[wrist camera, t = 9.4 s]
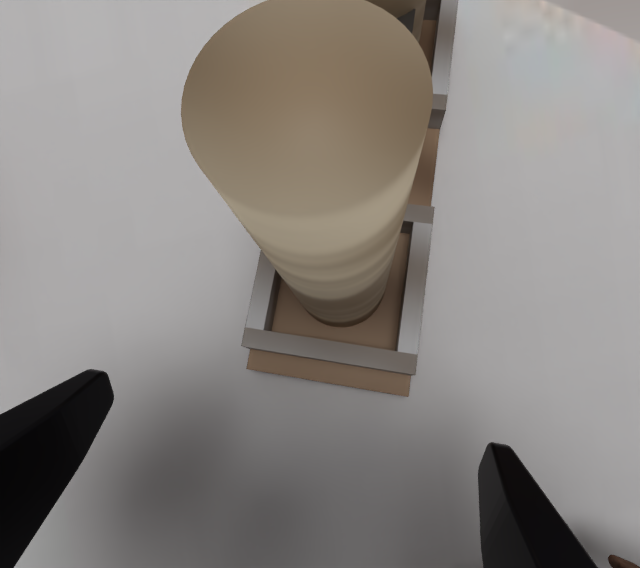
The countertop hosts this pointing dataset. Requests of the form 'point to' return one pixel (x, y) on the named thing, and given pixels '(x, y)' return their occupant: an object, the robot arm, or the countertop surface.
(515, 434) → the countertop surface
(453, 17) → the double slot holder
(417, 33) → the long tan cylinder
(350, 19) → the beige round canister
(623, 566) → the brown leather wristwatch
